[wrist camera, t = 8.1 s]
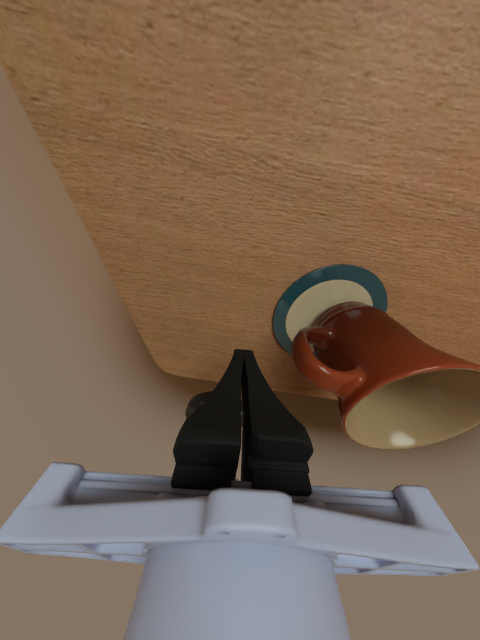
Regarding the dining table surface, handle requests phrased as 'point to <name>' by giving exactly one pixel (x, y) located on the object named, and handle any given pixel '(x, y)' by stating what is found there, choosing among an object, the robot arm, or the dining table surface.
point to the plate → (324, 298)
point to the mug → (387, 379)
